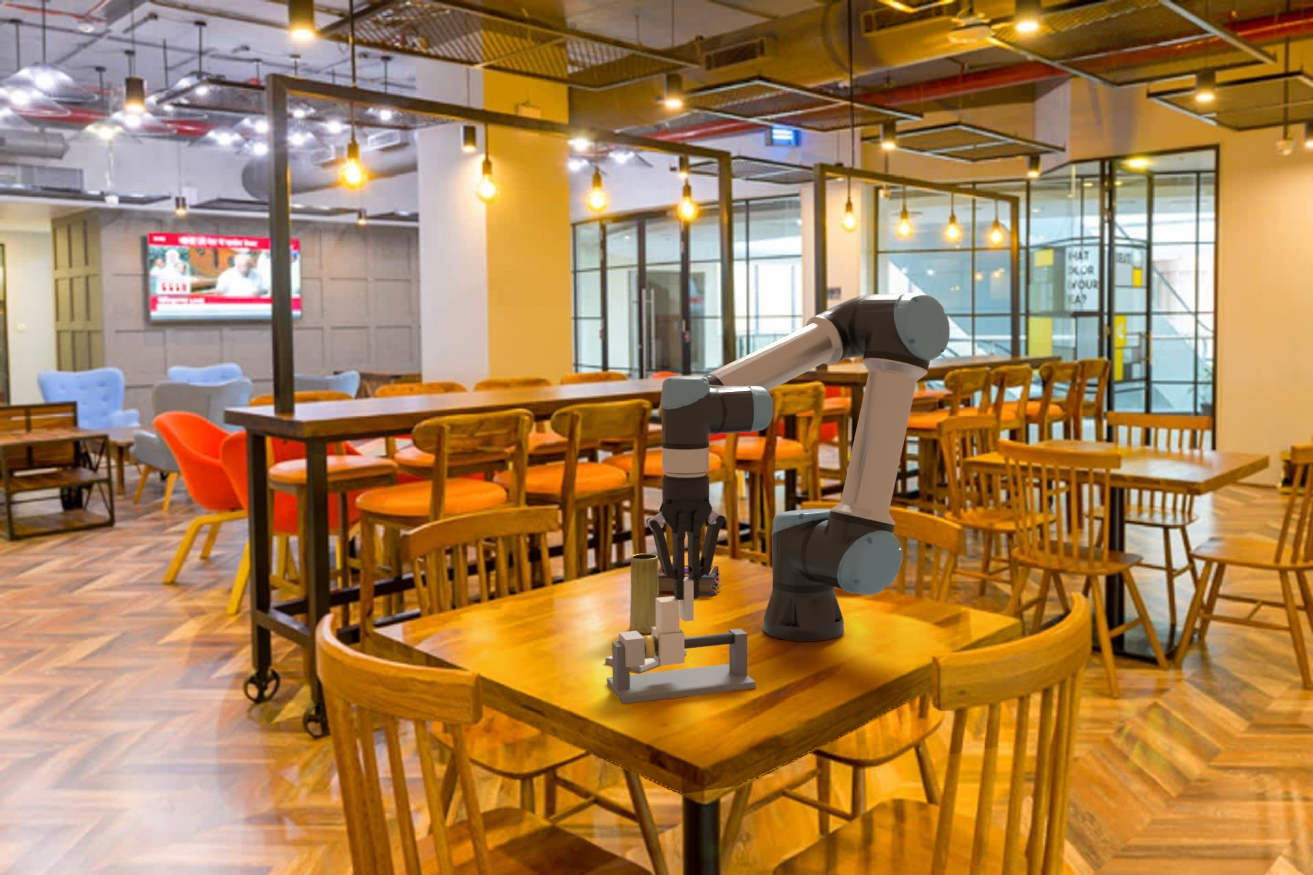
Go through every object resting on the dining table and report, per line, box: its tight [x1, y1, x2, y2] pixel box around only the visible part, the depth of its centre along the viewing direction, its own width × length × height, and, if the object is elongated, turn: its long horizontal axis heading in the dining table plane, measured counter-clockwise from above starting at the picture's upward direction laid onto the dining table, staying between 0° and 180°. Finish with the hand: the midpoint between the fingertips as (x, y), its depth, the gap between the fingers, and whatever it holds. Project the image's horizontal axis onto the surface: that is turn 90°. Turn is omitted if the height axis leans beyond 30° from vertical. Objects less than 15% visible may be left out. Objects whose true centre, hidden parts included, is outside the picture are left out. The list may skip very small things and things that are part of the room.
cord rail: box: [606, 628, 757, 704], centre depth 178 cm, size 22×10×9 cm, turn 107°
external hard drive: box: [604, 649, 687, 673], centre depth 193 cm, size 2×8×12 cm
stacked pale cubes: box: [650, 595, 685, 667], centre depth 176 cm, size 4×5×10 cm
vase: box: [629, 553, 660, 635], centre depth 210 cm, size 6×6×14 cm
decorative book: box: [658, 563, 722, 597], centre depth 242 cm, size 11×16×5 cm
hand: (686, 618), depth 177 cm, fingers closed
